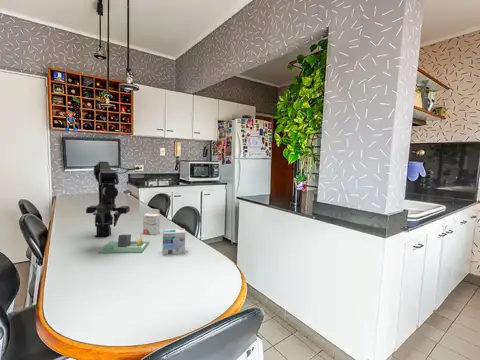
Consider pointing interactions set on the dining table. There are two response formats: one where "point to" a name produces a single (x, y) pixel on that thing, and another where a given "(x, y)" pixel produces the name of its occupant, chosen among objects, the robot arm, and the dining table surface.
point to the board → (133, 248)
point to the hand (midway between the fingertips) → (108, 226)
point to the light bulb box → (173, 241)
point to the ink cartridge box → (151, 222)
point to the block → (124, 240)
